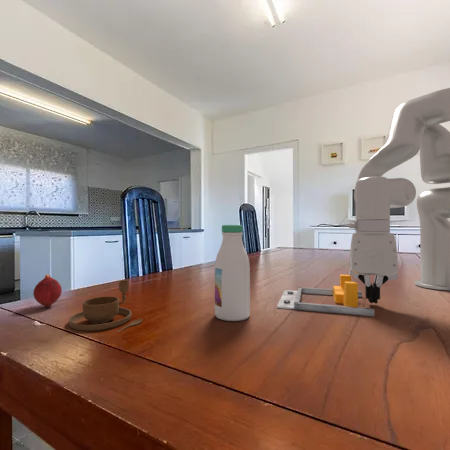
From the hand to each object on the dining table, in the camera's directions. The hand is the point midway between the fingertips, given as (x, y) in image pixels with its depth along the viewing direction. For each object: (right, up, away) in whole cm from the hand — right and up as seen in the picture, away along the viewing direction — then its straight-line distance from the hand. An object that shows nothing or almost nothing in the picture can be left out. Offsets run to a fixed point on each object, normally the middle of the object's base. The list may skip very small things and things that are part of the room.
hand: (372, 301), depth 69 cm
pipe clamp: (-6, -1, +2) cm, 7 cm away
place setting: (-61, -2, -7) cm, 61 cm away
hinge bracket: (-11, -1, +4) cm, 12 cm away
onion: (-80, -1, -1) cm, 80 cm away
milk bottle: (-35, -1, -8) cm, 36 cm away
